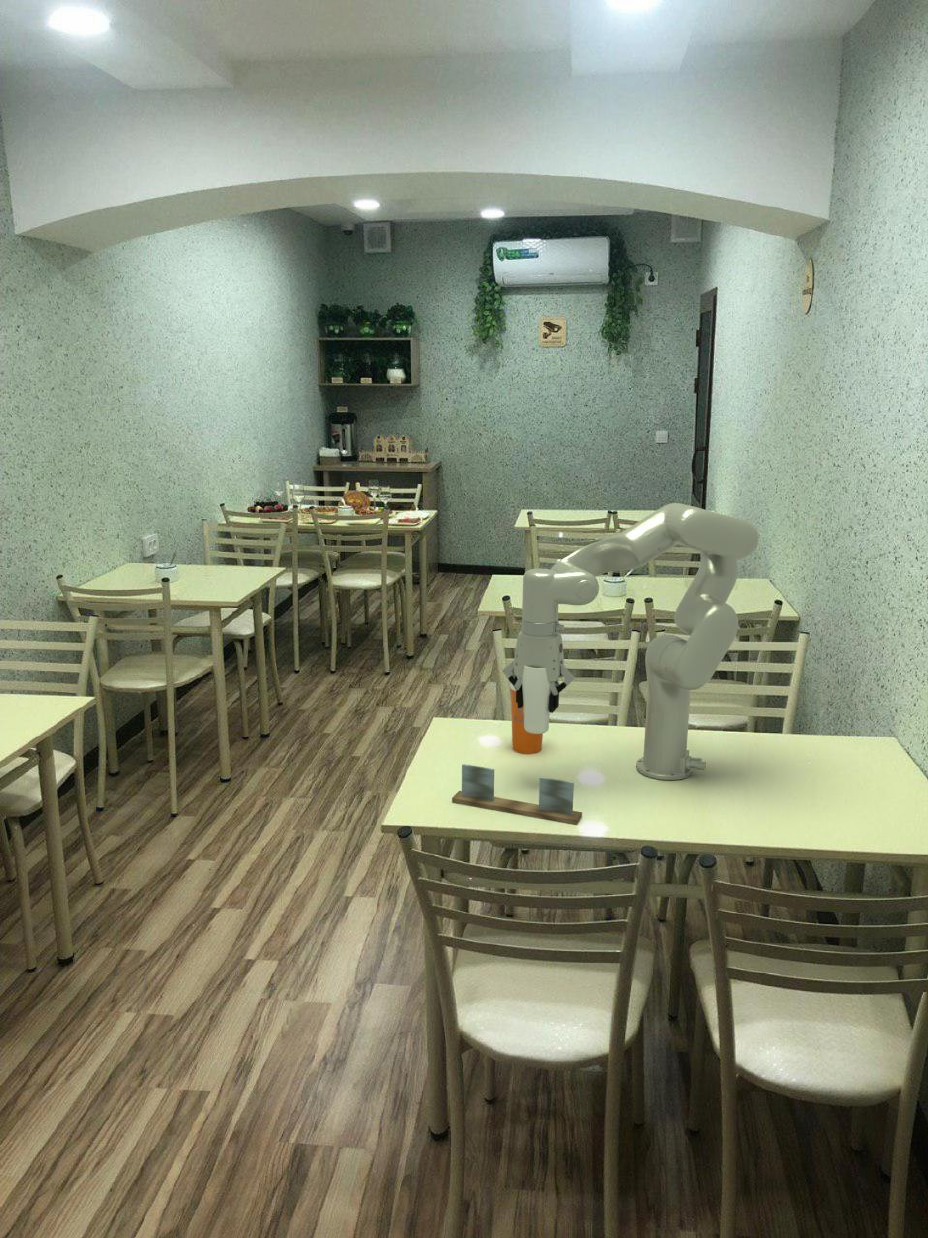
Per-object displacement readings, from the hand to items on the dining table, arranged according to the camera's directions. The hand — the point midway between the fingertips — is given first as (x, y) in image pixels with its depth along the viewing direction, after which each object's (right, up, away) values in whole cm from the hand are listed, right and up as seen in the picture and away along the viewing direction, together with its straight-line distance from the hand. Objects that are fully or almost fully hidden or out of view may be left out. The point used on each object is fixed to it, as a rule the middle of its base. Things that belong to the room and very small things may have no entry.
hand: (536, 707), depth 202 cm
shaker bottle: (0, -13, +25) cm, 28 cm away
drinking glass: (0, -5, +1) cm, 5 cm away
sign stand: (-5, -20, -7) cm, 22 cm away
